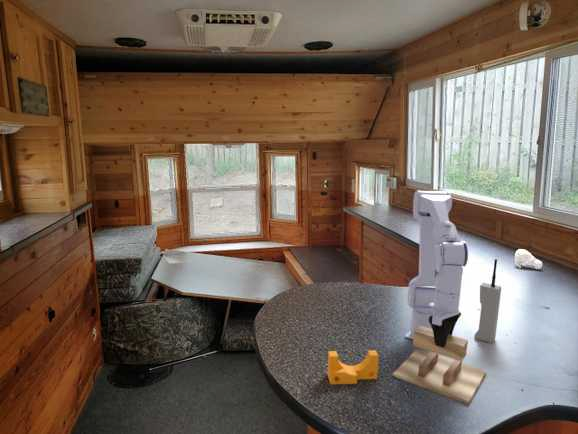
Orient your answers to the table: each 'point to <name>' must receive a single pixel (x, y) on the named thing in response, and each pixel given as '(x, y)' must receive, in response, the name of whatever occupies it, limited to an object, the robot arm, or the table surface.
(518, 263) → the white rough lump
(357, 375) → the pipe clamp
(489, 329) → the vintage mobile phone
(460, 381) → the rail stand
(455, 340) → the oak beam
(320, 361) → the table surface
